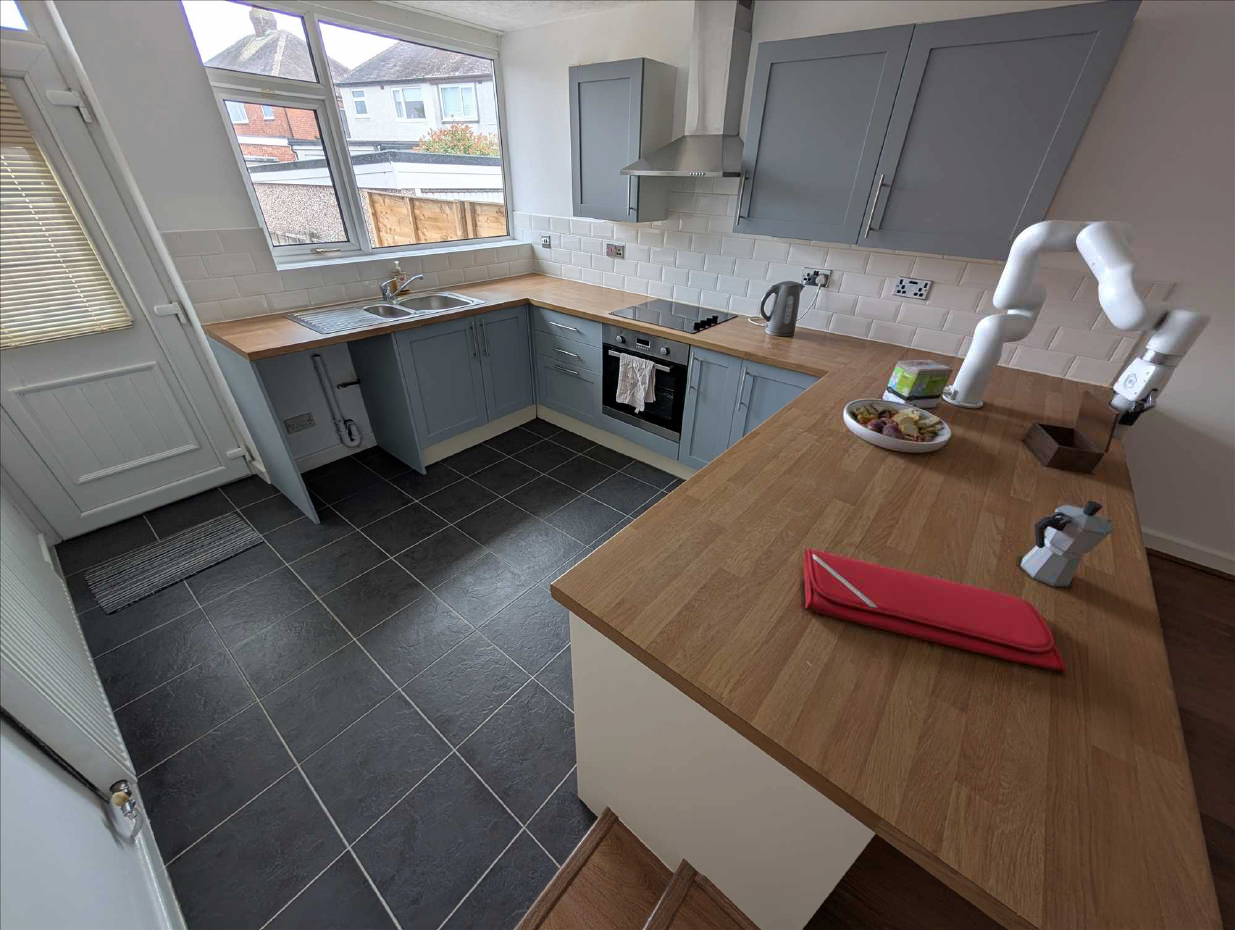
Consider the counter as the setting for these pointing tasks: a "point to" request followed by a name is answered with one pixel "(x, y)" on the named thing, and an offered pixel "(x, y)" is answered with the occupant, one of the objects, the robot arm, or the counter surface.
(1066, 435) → the chest
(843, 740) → the counter surface
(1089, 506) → the coffee maker
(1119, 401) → the beverage can
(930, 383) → the tea box
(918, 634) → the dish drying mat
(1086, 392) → the chest lid
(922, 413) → the bowl
